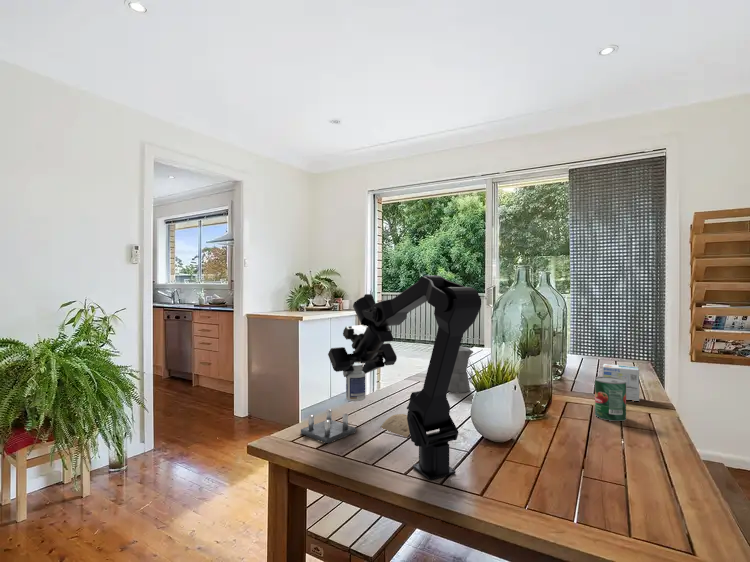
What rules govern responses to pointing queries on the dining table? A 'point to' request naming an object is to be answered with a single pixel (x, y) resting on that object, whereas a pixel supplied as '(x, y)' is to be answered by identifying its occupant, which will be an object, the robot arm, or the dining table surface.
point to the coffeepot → (460, 372)
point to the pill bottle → (356, 384)
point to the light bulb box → (625, 378)
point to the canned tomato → (610, 398)
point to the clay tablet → (397, 424)
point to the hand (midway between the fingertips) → (353, 374)
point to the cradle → (328, 428)
